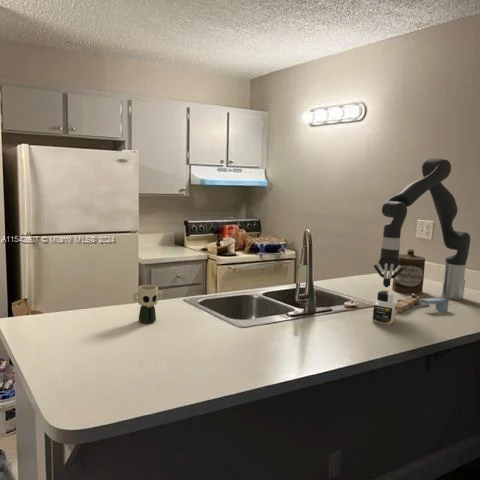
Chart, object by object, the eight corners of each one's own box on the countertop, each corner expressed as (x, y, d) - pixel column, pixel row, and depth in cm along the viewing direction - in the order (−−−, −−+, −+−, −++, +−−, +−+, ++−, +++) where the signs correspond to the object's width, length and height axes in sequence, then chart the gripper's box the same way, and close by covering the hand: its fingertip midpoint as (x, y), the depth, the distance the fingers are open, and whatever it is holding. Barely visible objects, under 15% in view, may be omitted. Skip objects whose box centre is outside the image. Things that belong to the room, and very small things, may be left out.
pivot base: (413, 300, 224) (414, 290, 223) (429, 306, 215) (430, 296, 214) (397, 301, 220) (398, 291, 219) (412, 307, 211) (413, 297, 210)
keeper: (440, 308, 212) (441, 297, 211) (447, 311, 208) (448, 299, 208) (419, 310, 207) (421, 298, 207) (426, 312, 204) (427, 301, 203)
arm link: (409, 299, 221) (410, 295, 220) (420, 301, 218) (421, 297, 217) (391, 309, 201) (391, 305, 201) (402, 312, 198) (403, 307, 198)
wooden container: (392, 292, 239) (396, 249, 236) (391, 286, 253) (395, 246, 250) (423, 296, 234) (427, 252, 231) (420, 289, 249) (425, 248, 246)
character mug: (135, 326, 166) (136, 290, 165) (129, 320, 172) (130, 285, 171) (164, 322, 172) (165, 288, 170) (158, 317, 178) (159, 283, 176)
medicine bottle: (372, 321, 187) (374, 292, 186) (375, 317, 193) (378, 288, 192) (390, 324, 184) (393, 295, 182) (393, 320, 190) (396, 291, 189)
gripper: (375, 247, 200) (371, 287, 202) (407, 250, 197) (403, 290, 200) (374, 245, 207) (370, 283, 210) (405, 247, 205) (401, 286, 207)
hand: (386, 286), depth 205 cm, fingers closed
